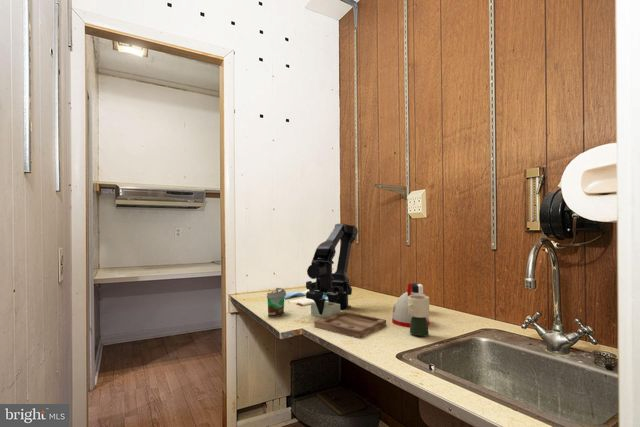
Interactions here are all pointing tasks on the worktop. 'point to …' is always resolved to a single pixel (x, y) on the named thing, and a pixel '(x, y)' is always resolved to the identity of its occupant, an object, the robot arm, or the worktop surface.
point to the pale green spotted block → (325, 309)
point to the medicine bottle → (417, 289)
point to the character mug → (418, 314)
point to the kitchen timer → (403, 310)
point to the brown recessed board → (350, 324)
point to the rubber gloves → (303, 300)
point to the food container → (276, 302)
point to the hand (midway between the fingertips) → (325, 312)
